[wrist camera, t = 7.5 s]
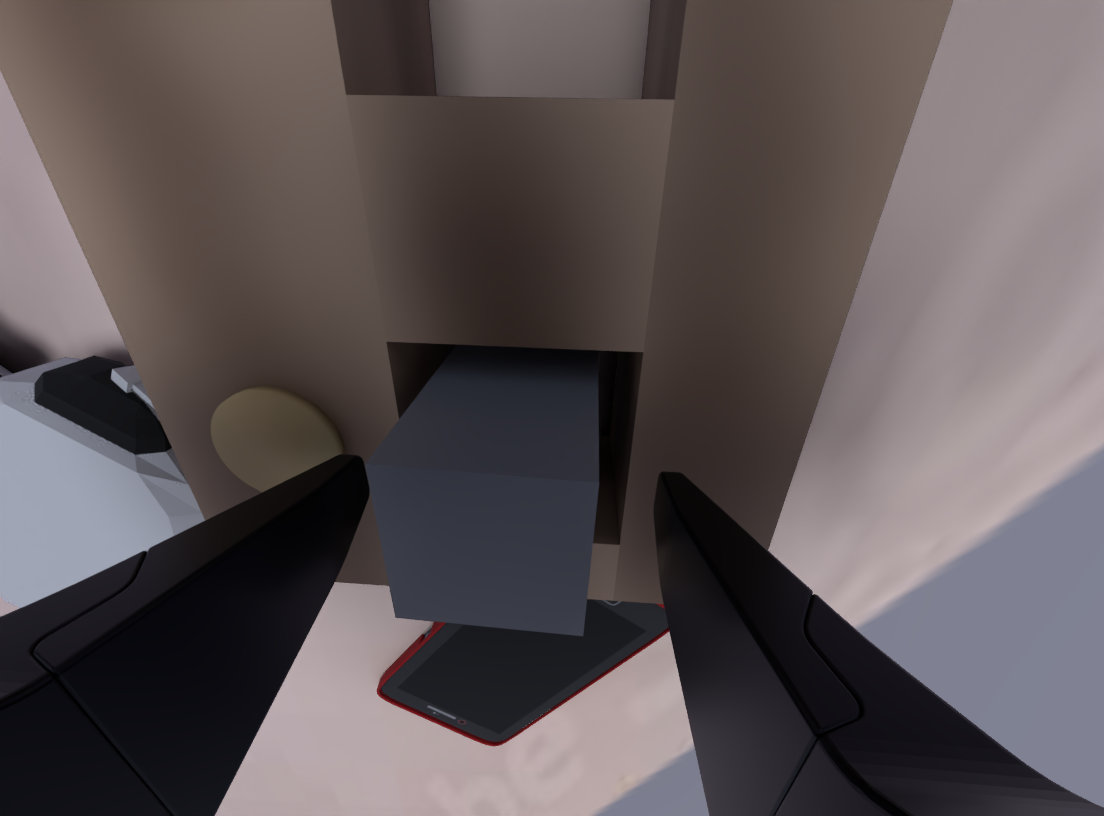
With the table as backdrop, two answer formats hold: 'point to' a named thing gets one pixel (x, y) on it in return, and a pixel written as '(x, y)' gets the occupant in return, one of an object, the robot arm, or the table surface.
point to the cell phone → (514, 669)
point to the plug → (493, 490)
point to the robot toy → (82, 475)
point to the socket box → (473, 229)
